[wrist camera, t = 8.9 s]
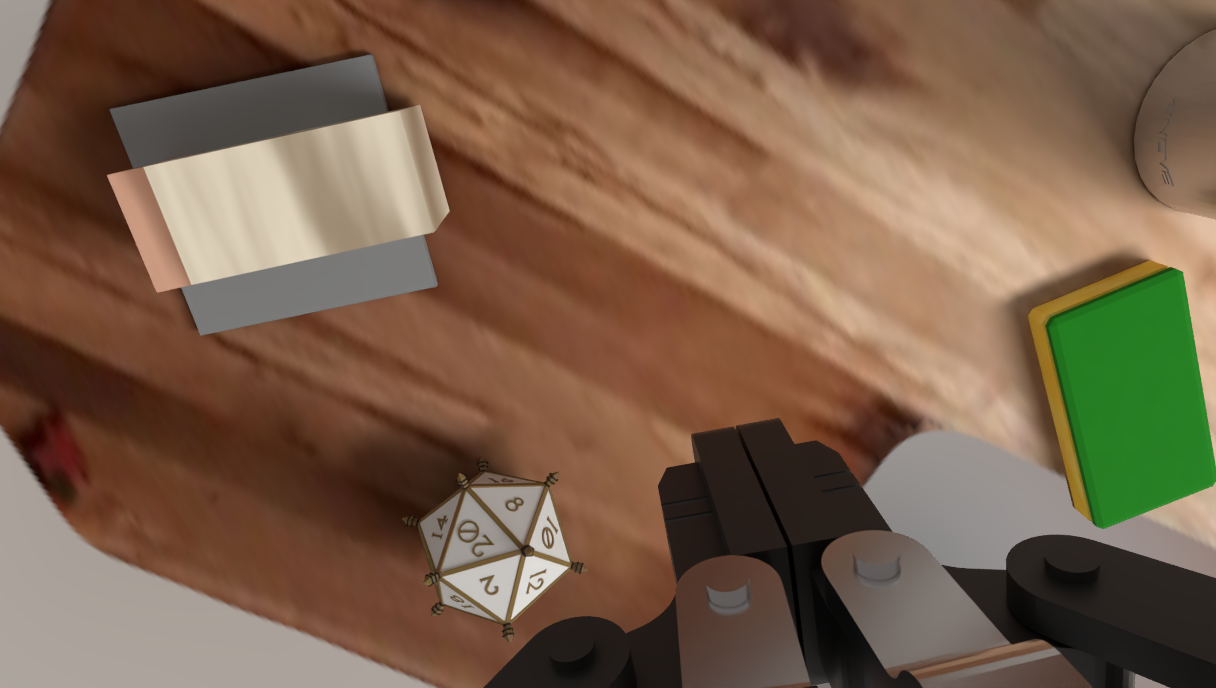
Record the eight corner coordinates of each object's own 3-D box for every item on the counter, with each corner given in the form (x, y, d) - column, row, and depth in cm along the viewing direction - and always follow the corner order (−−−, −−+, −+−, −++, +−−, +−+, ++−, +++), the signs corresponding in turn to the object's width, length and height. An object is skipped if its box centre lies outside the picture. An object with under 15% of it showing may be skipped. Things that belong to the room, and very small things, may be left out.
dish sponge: (1149, 255, 42) (1183, 266, 39) (1186, 464, 46) (1220, 484, 44) (1022, 308, 42) (1049, 322, 40) (1072, 509, 47) (1099, 532, 44)
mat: (372, 54, 35) (370, 54, 35) (437, 283, 39) (436, 286, 39) (115, 108, 35) (109, 109, 35) (204, 332, 39) (200, 335, 39)
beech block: (399, 110, 31) (106, 174, 31) (434, 232, 33) (156, 292, 33) (419, 104, 36) (165, 160, 36) (449, 211, 37) (206, 263, 37)
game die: (471, 476, 47) (334, 535, 39) (560, 408, 43) (426, 457, 34) (546, 609, 45) (419, 700, 37) (646, 552, 41) (528, 641, 33)
